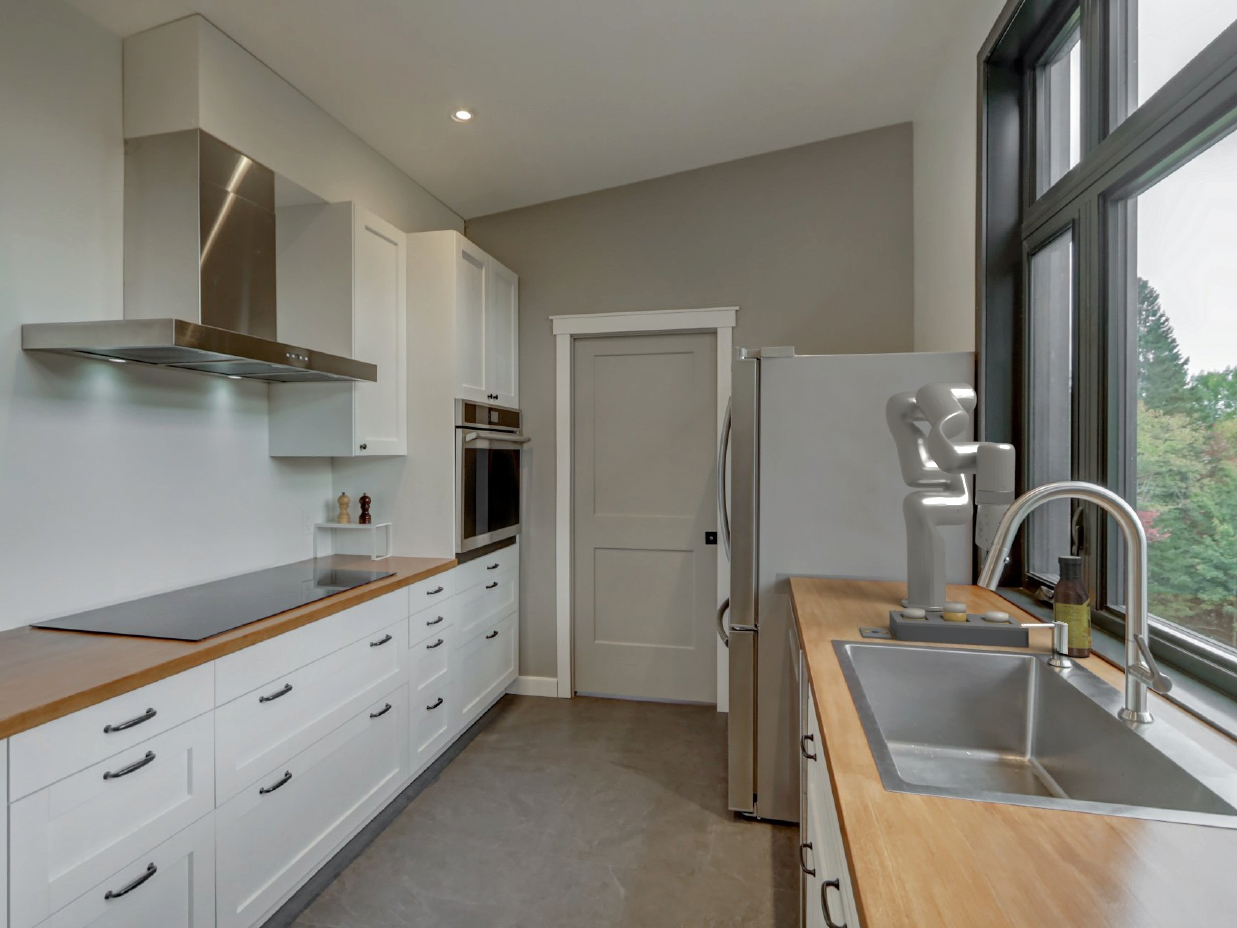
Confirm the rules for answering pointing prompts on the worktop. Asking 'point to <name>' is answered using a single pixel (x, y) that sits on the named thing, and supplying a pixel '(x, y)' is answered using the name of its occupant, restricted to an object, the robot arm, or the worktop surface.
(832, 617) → the worktop surface
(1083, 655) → the sauce bottle
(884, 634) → the card
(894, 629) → the button board
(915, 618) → the button
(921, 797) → the worktop surface
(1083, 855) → the worktop surface
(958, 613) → the button middle
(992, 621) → the button
